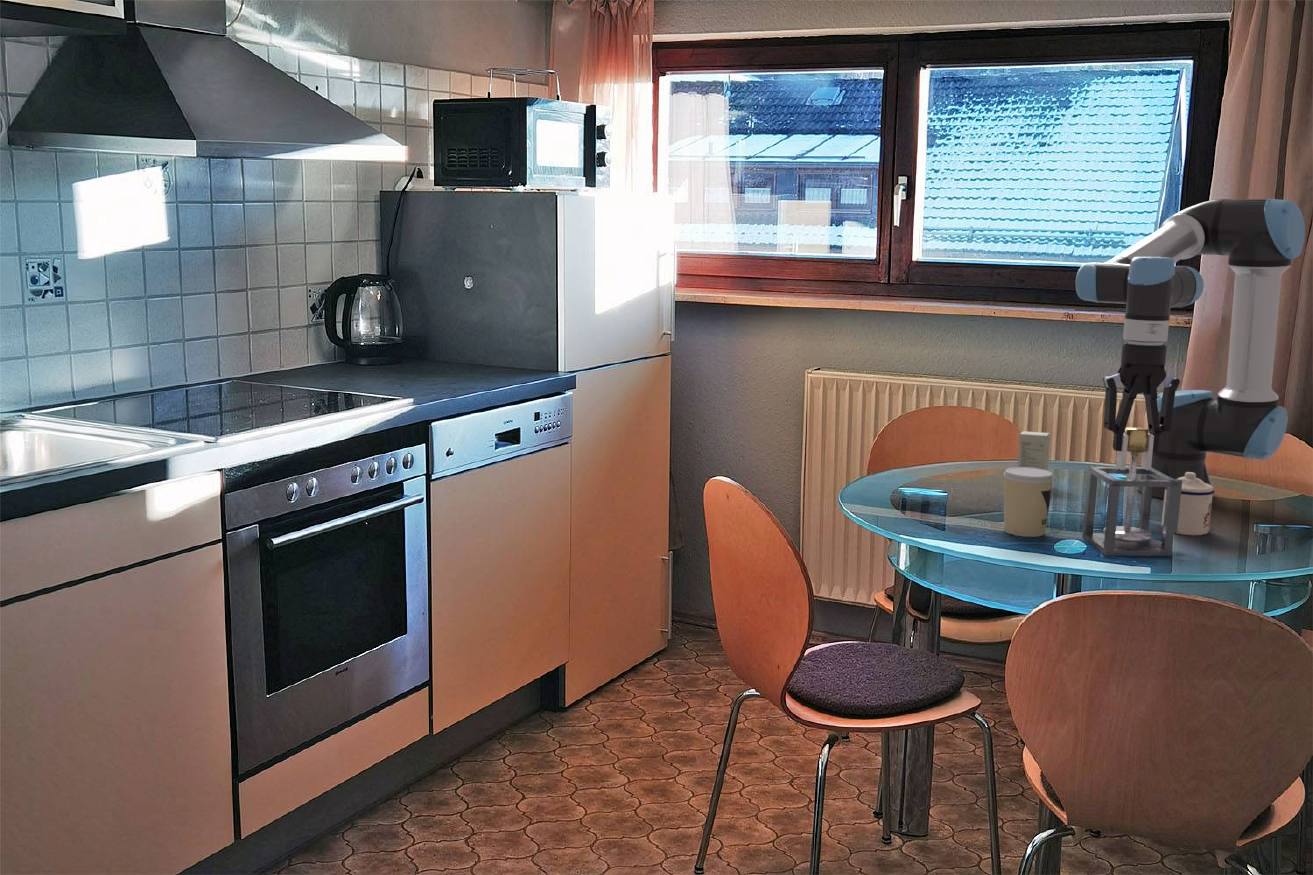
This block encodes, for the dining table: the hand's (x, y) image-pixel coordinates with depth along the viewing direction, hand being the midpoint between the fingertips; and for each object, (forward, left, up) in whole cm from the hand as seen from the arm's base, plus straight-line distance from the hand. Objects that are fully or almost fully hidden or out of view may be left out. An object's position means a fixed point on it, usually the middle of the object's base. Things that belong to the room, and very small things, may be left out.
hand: (1133, 468), depth 222 cm
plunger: (0, 0, -13) cm, 13 cm away
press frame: (-2, 0, -15) cm, 15 cm away
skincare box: (+2, -50, -15) cm, 52 cm away
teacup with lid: (-17, -14, -15) cm, 27 cm away
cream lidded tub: (+16, -10, -15) cm, 24 cm away
